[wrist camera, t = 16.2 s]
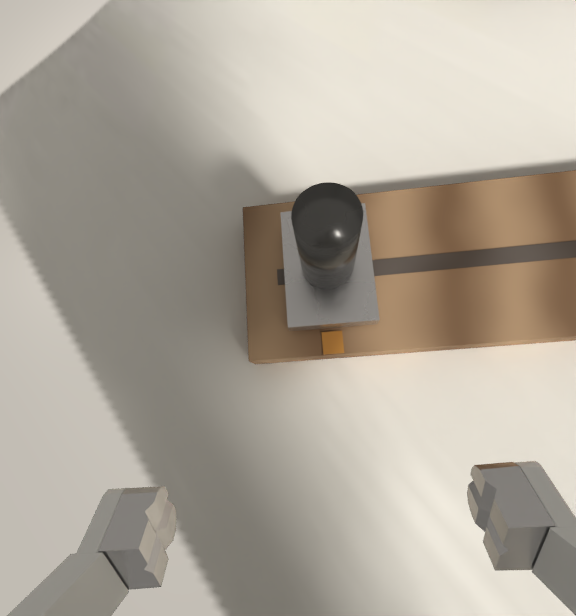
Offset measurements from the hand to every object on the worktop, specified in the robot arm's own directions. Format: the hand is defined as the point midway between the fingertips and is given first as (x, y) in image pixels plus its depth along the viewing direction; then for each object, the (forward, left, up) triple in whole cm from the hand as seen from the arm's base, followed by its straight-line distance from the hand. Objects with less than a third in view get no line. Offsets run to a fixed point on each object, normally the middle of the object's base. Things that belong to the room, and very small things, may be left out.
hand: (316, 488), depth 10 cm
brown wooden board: (+2, -13, -13) cm, 19 cm away
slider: (+7, -7, -11) cm, 15 cm away
